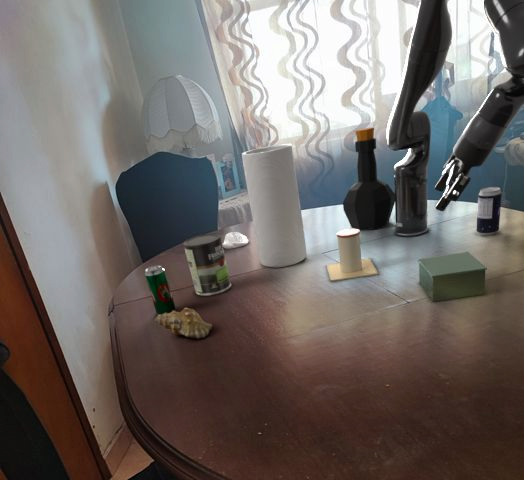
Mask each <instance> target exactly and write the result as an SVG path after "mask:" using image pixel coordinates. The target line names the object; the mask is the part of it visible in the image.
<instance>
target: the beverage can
mask: <svg viewBox="0 0 524 480" xmlns="http://www.w3.org/2000/svg"><path fill="white" fill-rule="evenodd" d="M502 193H503V192H502V191H501V187H497V186H490V187H489V186H488V187H484V188H483V187H482V188H480V189H479V193H478V195H477V210H476V211H477V213H476V229H475V230H476V232H477V233H478V234H479V235H481V236H493V235H495V234H496V233H497V232H498V231H499V230H500V221H501V207H502Z"/></svg>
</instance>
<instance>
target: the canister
mask: <svg viewBox="0 0 524 480" xmlns="http://www.w3.org/2000/svg"><path fill="white" fill-rule="evenodd" d="M336 237H337V248H338V256H339V263H340V269H341V271H342V272H345V273H352V272H357V271H359V270H361V269H362V261H361V260H362V250H361V247H362V246H361V230H359V229H355V228H345V229H341V230H339V231H337V232H336Z"/></svg>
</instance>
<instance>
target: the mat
mask: <svg viewBox="0 0 524 480" xmlns="http://www.w3.org/2000/svg"><path fill="white" fill-rule="evenodd" d="M361 261H362V269H361V270H359V271H357V272H352V273H345V272H342V271H341V269H340V262H337V263H336V262H335V263H330V264H326V269H327V273H328V276H329V279H330V282H337V281H338V282H339V281H344V280H351V279H357V278H358V279H359V278H364V277H370V276H371V277H372V276H379V272H378V270H377V268H376V266H375V265H374V263H373V261H372V259H371V258H361Z"/></svg>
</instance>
